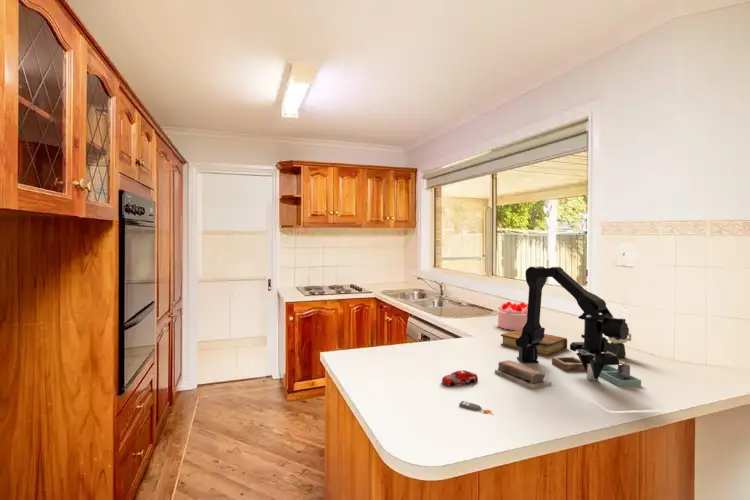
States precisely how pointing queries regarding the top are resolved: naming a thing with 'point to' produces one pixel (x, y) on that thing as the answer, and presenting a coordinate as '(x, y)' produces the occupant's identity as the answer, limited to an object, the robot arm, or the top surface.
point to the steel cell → (590, 373)
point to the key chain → (473, 407)
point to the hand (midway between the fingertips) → (592, 376)
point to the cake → (512, 315)
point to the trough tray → (612, 375)
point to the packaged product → (522, 375)
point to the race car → (460, 378)
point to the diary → (545, 347)
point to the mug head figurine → (620, 345)
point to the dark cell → (623, 371)
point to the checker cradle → (568, 366)
